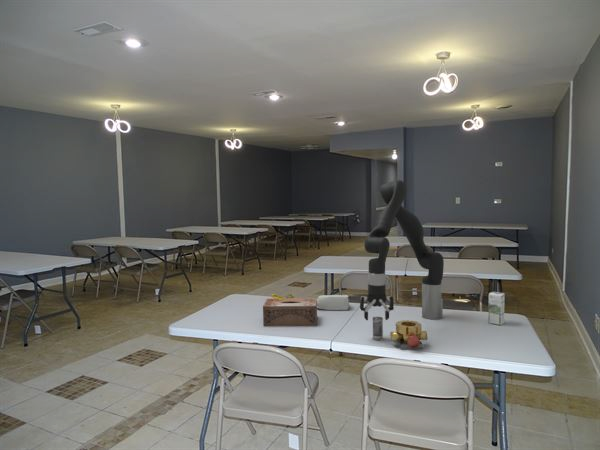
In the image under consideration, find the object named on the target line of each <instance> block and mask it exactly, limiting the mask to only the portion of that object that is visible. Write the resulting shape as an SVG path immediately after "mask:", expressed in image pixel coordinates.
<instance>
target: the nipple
mask: <svg viewBox="0 0 600 450" xmlns="http://www.w3.org/2000/svg"><path fill="white" fill-rule="evenodd" d="M383 320H384V318H383V317H382V316H373V317H372V339H373V340H376V341H381V339H382V340H384V334H383V332H384V330H383V327H384V326H383V325H384V323H383V322H384V321H383Z"/></svg>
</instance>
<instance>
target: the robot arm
mask: <svg viewBox="0 0 600 450" xmlns="http://www.w3.org/2000/svg"><path fill="white" fill-rule="evenodd" d="M379 191H380V195H381V198H382V200H383V202H384V203H385V204H386V206H385V207H384V208H383V210H382V211H381V212H380V213H379V215H378V216H377V218H376V222H375V224H374V226H373V228H372V230H371V231H370V232H369V234H368V235H367V237H366V238H365V241H364V246H363V247H364V250H365V252H367V253H369V254H378V257H376V258H375V257H374V258H371V259H369V261H368V275H367V296H364V295H360V299H359V300H360V301H359V309H360V310H361V312H362V311H363V314H364V315H363V316H364V320H365V321H369V310H370V309H371V308H372V307H379V308H380V307H383V308H384V309H385V310H384V315H385V316H384V319H385V321H388V319H390V312H391V311H394V307H395V306H394V296H392V295H389V296H387V295H386V293H387V290H386V289H387V287H386V286H387V285H386V284H387V280H386V278H387V277H386V262H387V261H386V260H387V257H388V254H389V250H390V246H391V245H390V243H391V242H390V241H389V239H388V238H387V237H388V236H390V232H391V230H392V227H393V224H394V221H395V219H396V221H397V223H398V225H399V226H400V229H401V230H402V232H403V234H404V236H405V237H406V239H407V241H408V243H409V245H410V246H411V248H412V251H413V252H414V254H415V257H416V260H417V262H418V265H420V267H421V268H423V269H424V270H428V274H427V275H426V276H423V277H422V278H421V317H422V318H423V319H428V320H439V319H443V317H444V316H443V309H444V308H443V305H444V304H443V302H444V300H443V298H442V280H443V277H444V263H445V261H444V257H443V255H442V254H441V253H440V252H436V251H431V250H429V249H428V247H427V246H426V244H425V241H424V239H425V238H424V237H425V235H424V234H425V230H424V227H423V225H422V223H421V221H420V219H419V218H418V216H416V215H415V214H414V213H413V212H411V211H410V210H408V209H407V208H405V207H404V206H402V204H403V203H404V201H405V199H406V196H407V194H408V188H407V185H406V183H405V182H404V181H403V180H400V179H397V180H393V181H389V182H386V183H383V184H382V185H380V190H379ZM366 301H368V302H367V304H366V305H365V302H366ZM386 301H388V302H389V306H387V305H386V304H385V302H386ZM364 305H365V306H364Z"/></svg>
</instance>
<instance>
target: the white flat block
mask: <svg viewBox="0 0 600 450" xmlns="http://www.w3.org/2000/svg"><path fill="white" fill-rule="evenodd" d="M349 302H350V296H349V295H348V294H331V295H330V294H329V295H328V294H326V295H318V297H317V308H318V309H319V310H325V311H326V310H327V311H349V310H350V303H349Z"/></svg>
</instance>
